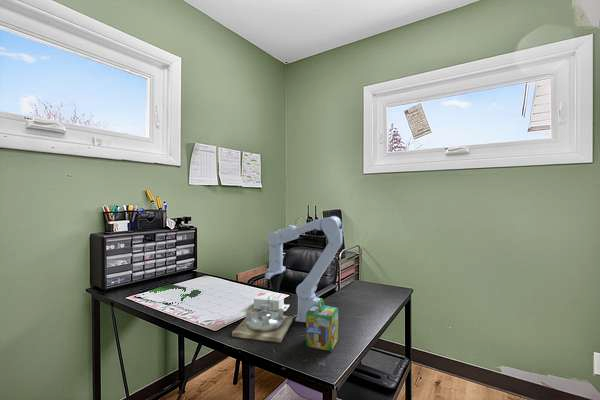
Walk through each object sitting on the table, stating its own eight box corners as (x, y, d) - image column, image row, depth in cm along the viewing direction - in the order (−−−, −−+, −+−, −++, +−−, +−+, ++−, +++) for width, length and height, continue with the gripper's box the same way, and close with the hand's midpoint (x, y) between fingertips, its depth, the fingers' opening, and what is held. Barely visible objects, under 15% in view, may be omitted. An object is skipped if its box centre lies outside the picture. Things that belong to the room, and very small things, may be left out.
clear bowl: (265, 312, 118) (265, 300, 118) (290, 322, 109) (290, 309, 109) (238, 323, 107) (238, 310, 107) (263, 335, 98) (263, 321, 98)
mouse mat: (207, 292, 148) (207, 290, 148) (174, 306, 128) (174, 304, 128) (168, 285, 159) (168, 283, 159) (132, 297, 139) (132, 295, 139)
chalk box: (331, 352, 91) (332, 307, 91) (305, 346, 95) (305, 302, 95) (339, 339, 100) (339, 297, 100) (314, 334, 103) (315, 294, 103)
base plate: (292, 320, 115) (293, 316, 115) (280, 342, 97) (280, 337, 97) (251, 315, 119) (251, 312, 119) (232, 336, 101) (232, 331, 101)
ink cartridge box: (260, 292, 134) (290, 294, 131) (260, 302, 134) (290, 305, 131) (253, 298, 125) (285, 301, 122) (253, 309, 125) (285, 312, 122)
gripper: (275, 255, 130) (275, 285, 130) (258, 262, 116) (258, 295, 116) (289, 257, 127) (289, 287, 127) (273, 264, 113) (273, 297, 114)
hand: (275, 291), depth 121 cm, fingers closed
